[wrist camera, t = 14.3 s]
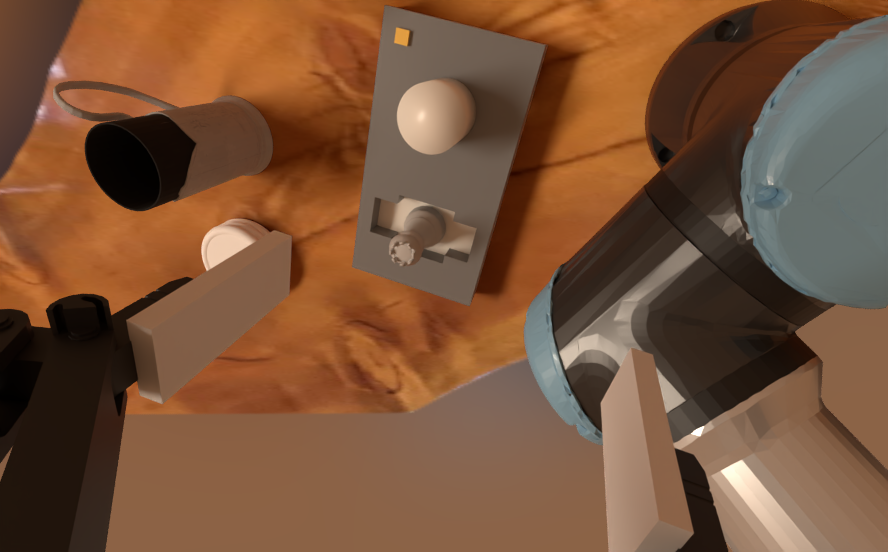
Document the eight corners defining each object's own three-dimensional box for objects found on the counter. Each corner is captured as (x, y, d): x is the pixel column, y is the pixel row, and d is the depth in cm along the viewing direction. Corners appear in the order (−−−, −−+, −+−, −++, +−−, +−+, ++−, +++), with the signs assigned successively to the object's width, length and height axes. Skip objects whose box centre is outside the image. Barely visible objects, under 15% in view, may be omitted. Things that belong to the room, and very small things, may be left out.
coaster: (220, 205, 56) (199, 214, 53) (291, 235, 55) (274, 246, 52) (217, 270, 61) (198, 282, 58) (282, 299, 60) (266, 312, 57)
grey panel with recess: (547, 45, 39) (540, 45, 32) (475, 293, 52) (459, 331, 45) (397, 7, 41) (359, 0, 34) (363, 256, 54) (331, 287, 47)
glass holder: (253, 190, 54) (150, 237, 41) (155, 107, 52) (16, 129, 39) (285, 133, 49) (181, 166, 36) (179, 41, 48) (31, 40, 35)
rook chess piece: (404, 236, 50) (376, 267, 43) (411, 199, 48) (382, 225, 41) (442, 248, 49) (419, 282, 42) (451, 211, 47) (429, 240, 40)
